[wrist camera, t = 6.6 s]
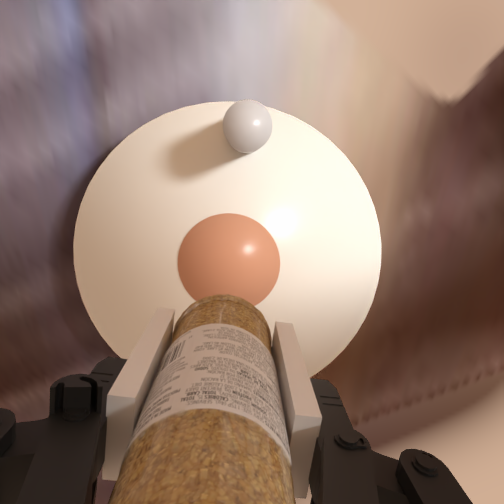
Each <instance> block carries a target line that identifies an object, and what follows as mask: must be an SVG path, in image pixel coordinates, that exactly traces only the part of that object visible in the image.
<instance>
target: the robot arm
mask: <svg viewBox="0 0 504 504" xmlns="http://www.w3.org/2000/svg"><path fill="white" fill-rule="evenodd" d="M174 315H175V309H168V308H159V307H158V308H157V309H156V311H155V313H154V315H153V316H152V318H151V320H150V322H149V323H148V325H147V327H146V328H145V330H144V332H143V334H142V335H141V337H140V339H139V341H138V342H137V344H136V346H135V348H134V349H133V351H132V353H131V355H130V356H129V358H128V359H122V358H113V357H107V358H106V359H104V360H102V361H101V362H99V363H97V365H96V366H95V368H94V369H93V370H92V372H91V373H90V375H87V374H76V375H70V376H66V377H63V378H61V379H59V380H57V381H56V382H54V383H53V385H52V386H51V387H50V415H49V417H48V418H46V419H43V420H37V421H30V422H20V423H16V419H15V414H14V413H13V412H11V411H10V410H7V409H3V408H0V504H95V497H96V490H97V476H98V474H99V472H100V470H101V468H102V465H103V470H102V479H103V480H114V481H117V479H118V476H119V471H120V467H121V463H122V460H123V457H124V454H125V452H126V449H127V447H128V444H129V442H130V439H131V437H132V434H133V432H134V429H135V427H136V424H137V421H138V419H139V416H140V414H141V411H142V409H143V406H144V404H145V401H146V399H147V396H148V394H149V391H150V389H151V386H152V384H153V381H154V379H155V377H156V374H157V372H158V369H159V367H160V364H161V362H162V359H163V357H164V355H165V353H166V351H167V350H168V348H169V347H170V346H171V343H172V335H173V325H174ZM271 353H272V358H273V360H274V363H275V367H276V372H277V377H278V383H279V389H280V394H281V400H282V406H283V411H284V418H285V424H286V431H287V437H288V443H289V449H290V456H291V463H292V467H291V473H292V478H293V487H294V497H296V498H306V495H307V491H308V486H309V484H310V489H311V494H312V498H311V503H310V504H473V503H472V502H471V501H470V499H469V498H468V496H467V495H466V493H465V492H464V491H463V489H462V488H461V486H460V485H459V483H458V482H457V480H456V479H455V477H454V476H453V475H452V473H451V472H450V471H449V469H448V468H447V467H446V465H444V463H443V462H442V461H441V460H439V459H438V458H436V457H435V456H433V455H432V454H430V453H427V452H425V451H422V450H417V449H406V450H405V451H403V452H401V455H400V458H399V460H396V459H393V458H390V457H387V456H384V455H381V454H379V453H376V452H374V451H372V450H371V447H370V444H369V442H368V440H367V439H366V438H365V437H364V436H363V435H362V434H360V433H359V432H357V431H356V430H354V429H353V427H352V425H351V422H350V420H349V418H348V415H347V413H346V410H345V408H344V407H343V403H342V401H341V400H340V396H339V394H338V391H337V389H336V388H335V387H334V386H333V385H332V384H331V383H330V382H329V381H328V380H320V379H311V378H310V377H309V374H308V371H307V368H306V365H305V362H304V359H303V355H302V352H301V349H300V346H299V343H298V340H297V336H296V333H295V330H294V327H293V324H292V323H285V322H277V321H275V327H274V334H273V340H272V346H271Z"/></svg>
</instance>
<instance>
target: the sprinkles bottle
mask: <svg viewBox="0 0 504 504" xmlns="http://www.w3.org/2000/svg"><path fill="white" fill-rule="evenodd" d="M271 345H272V337H271V332H270V328H269V326H268V324H267V321H266V320H265V318H264V316H263V314H262V312H261V311H259V310H258V309H257V308H256V307H255V306H254V305H253V304H251V303H249V302H248V301H246V300H244V299H242V298H240V297H236V296H232V295H229V294H226V295H224V294H218V295H213V296H207V297H204V298H202V299H200V300H197V301H196V302H194V303H192V304H191V305H190V306H189V307H188V308H187V309H186V310H185V311H184V312H183V313H182V315H181V316H180V318H179V319H178V320H177V322H176V324H175V327H174V331H173V335H172V343H171V346H170V347H169V348H168V350H167V351H166V353H165V355H164V357H163V359H162V362H161V364H160V367H159V369H158V372H157V374H156V377H155V379H154V381H153V384H152V386H151V389H150V391H149V394H148V396H147V399H146V401H145V404H144V406H143V409H142V411H141V414H140V416H139V419H138V421H137V424H136V427H135V429H134V432H133V434H132V437H131V439H130V442H129V444H128V447H127V449H126V452H125V454H124V457H123V460H122V463H121V467H120V471H119V476H118V479H117V481H116V483H115V486H114V489H113V491H112V494H111V496H110V499H109V502H108V504H296V502H295V498H294V487H293V478H292V473H291V467H292V463H291V456H290V449H289V443H288V437H287V431H286V424H285V418H284V411H283V406H282V400H281V394H280V389H279V383H278V377H277V372H276V367H275V363H274V360H273V358H272V353H271Z"/></svg>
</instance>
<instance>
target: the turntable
mask: <svg viewBox="0 0 504 504" xmlns="http://www.w3.org/2000/svg"><path fill="white" fill-rule="evenodd" d="M73 249H74V268H75V274H76V280H77V285H78V288H79V291H80V294H81V298H82V301H83V303H84V306H85V308H86V310H87V312H88V314H89V317H90V319H91V321H92V322H93V324H94V325H95V327H96V329H97V330H98V332H99V333H100V335H101V336H102V338H103V339H104V340H105V341H106V343H107V344H108V345H109V346H110V347H111V349H112V350H113V351H114V352H115V353H116V354H117V355H118V356H119V357H120V358H122V359H128V358H129V356H130V355H131V353H132V351H133V349H134V348H135V346H136V344H137V342H138V341H139V339H140V337H141V335H142V334H143V332H144V330H145V328H146V327H147V325H148V323H149V322H150V320H151V318H152V316H153V315H154V313H155V311H156V309H157V308H158V307H159V308H168V309H175V315H174V325H173V331H174V327H175V324H176V322H177V320H178V319H179V318H180V316H181V315H182V313H183V312H184V311H185V310H186V309H187V308H188V307H189V306H190V305H191V304H192V303H194V302H196V301H197V300H200V299H202V298H204V297H207V296H213V295H218V294H224V295H226V294H229V295H232V296H236V297H240V298H242V299H244V300H246V301H248V302H249V303H251V304H253V305H254V306H255V307H256V308H257V309H258V310H259V311H261V312H262V314H263V316H264V318H265V320H266V321H267V324H268V326H269V328H270V332H271V337H272V340H273V334H274V327H275V321H277V322H285V323H292V324H293V327H294V330H295V333H296V336H297V340H298V343H299V346H300V349H301V352H302V355H303V359H304V362H305V365H306V368H307V371H308V374H309V377H312V376H313V375H315V374H317V373H318V372H319V371H321V370H322V369H323V368H324V367H326V366H327V365H328V364H330V363H331V362H332V361H333V360H334V359H335V358H336V357H337V356H338V355H339V354H340V353H341V352H342V351H343V350H344V349H345V348H346V346H347V345H348V344H349V343H350V341H351V340H352V339H353V338H354V336H355V335H356V333H357V332H358V330H359V328H360V327H361V325H362V323H363V322H364V320H365V318H366V316H367V314H368V311H369V309H370V307H371V305H372V302H373V299H374V296H375V292H376V289H377V285H378V281H379V274H380V268H381V238H380V229H379V223H378V219H377V216H376V212H375V208H374V205H373V202H372V200H371V197H370V195H369V192H368V190H367V188H366V186H365V184H364V182H363V181H362V179H361V177H360V175H359V174H358V172H357V170H356V169H355V168H354V166H353V165H352V164H351V162H350V161H349V160H348V159H347V157H346V156H345V155H344V153H343V152H341V151H340V150H339V149H338V148H337V147H336V146H335V145H334V144H333V143H332V142H331V141H330V140H329V139H328V138H327V137H325V136H324V135H323V134H321V133H320V132H319V131H317V130H316V129H314V128H313V127H312V126H310V125H308V124H306V123H305V122H303V121H301V120H299V119H297V118H295V117H294V116H292V115H289V114H286V113H284V112H281V111H278V110H276V109H273V108H269V107H265V106H264V105H262V104H261V103H259V102H257V101H255V100H250V99H244V100H240V101H237V102H229V101H228V102H210V103H202V104H197V105H192V106H187V107H183V108H180V109H178V110H175V111H172V112H169V113H166V114H164V115H162V116H160V117H158V118H156V119H154V120H152V121H150V122H148V123H146V124H144V125H143V126H141V127H140V128H139V129H137V130H136V131H134V132H133V133H132V134H130V135H129V136H127V137H126V138H125V139H124V140H123V141H122V142H121V143H120V144H119V145H118V146H117V147H116V148H115V149H114V150H113V151H112V152H111V153H110V154H109V155H108V157H107V158H106V159H105V160H104V162H103V163H102V164H101V165H100V167H99V168H98V170H97V172H96V173H95V175H94V177H93V178H92V180H91V182H90V183H89V185H88V187H87V190H86V192H85V195H84V197H83V200H82V202H81V205H80V209H79V212H78V216H77V220H76V225H75V234H74V243H73ZM271 346H272V345H271Z"/></svg>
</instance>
